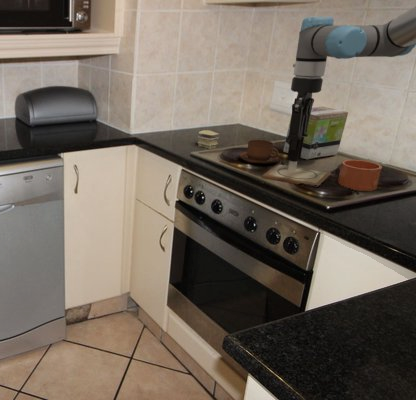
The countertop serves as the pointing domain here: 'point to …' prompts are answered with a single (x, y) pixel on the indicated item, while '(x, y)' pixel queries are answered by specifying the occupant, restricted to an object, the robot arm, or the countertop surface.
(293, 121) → the robot arm
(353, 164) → the pen cup
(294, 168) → the marker
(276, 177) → the tan flat square slab
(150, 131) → the countertop surface
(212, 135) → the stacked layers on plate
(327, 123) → the tea box
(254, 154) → the cup and saucer
